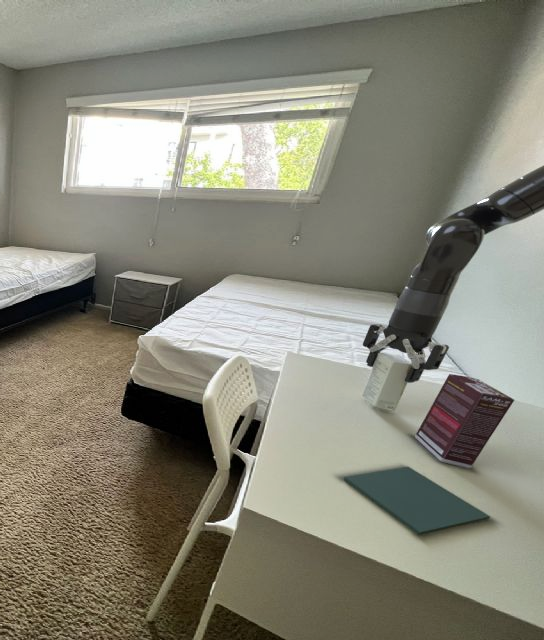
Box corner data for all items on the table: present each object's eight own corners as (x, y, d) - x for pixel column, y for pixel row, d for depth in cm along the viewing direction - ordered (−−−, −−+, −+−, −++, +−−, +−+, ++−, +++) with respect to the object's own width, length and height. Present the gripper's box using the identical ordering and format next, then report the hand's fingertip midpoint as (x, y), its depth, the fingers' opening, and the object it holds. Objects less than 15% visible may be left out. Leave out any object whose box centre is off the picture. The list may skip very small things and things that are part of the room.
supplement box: (472, 470, 67) (517, 400, 62) (440, 462, 69) (481, 393, 63) (440, 442, 75) (478, 378, 69) (412, 436, 76) (447, 372, 71)
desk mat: (406, 468, 66) (408, 466, 66) (488, 519, 56) (490, 516, 56) (343, 479, 62) (344, 476, 62) (418, 535, 53) (420, 532, 52)
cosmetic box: (395, 411, 83) (417, 366, 79) (373, 407, 85) (394, 362, 80) (380, 397, 89) (399, 354, 85) (359, 394, 90) (378, 351, 86)
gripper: (473, 320, 73) (438, 388, 78) (393, 300, 86) (367, 359, 92) (449, 320, 71) (414, 390, 77) (371, 300, 84) (346, 361, 90)
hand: (389, 373), depth 84 cm, fingers closed on cosmetic box, 7 cm apart
